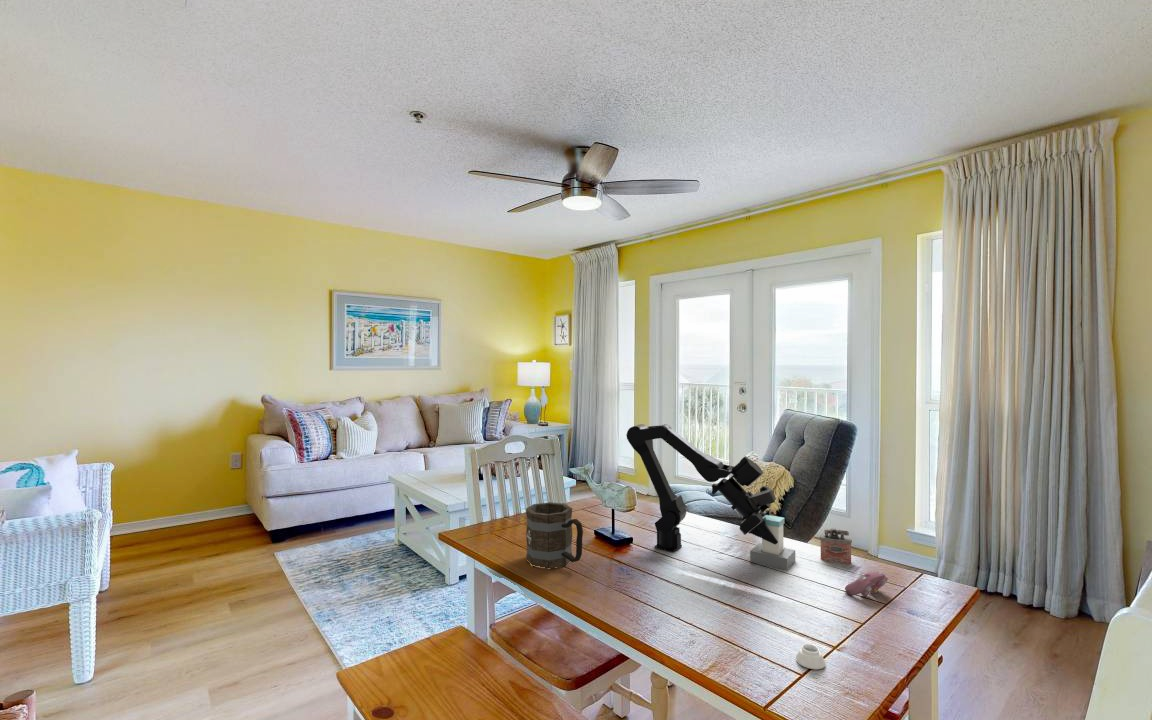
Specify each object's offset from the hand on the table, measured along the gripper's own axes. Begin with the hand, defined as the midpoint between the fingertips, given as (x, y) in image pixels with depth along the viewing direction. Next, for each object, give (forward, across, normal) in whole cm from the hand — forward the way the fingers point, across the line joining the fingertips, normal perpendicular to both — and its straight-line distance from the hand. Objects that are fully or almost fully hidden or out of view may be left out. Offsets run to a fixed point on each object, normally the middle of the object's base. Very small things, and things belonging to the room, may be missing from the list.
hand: (778, 540), depth 146 cm
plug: (+3, 0, +5) cm, 6 cm away
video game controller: (+20, -8, -10) cm, 24 cm away
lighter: (+15, +9, -5) cm, 18 cm away
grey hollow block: (+4, 0, +6) cm, 7 cm away
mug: (-34, -27, +45) cm, 63 cm away
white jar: (+14, -47, -3) cm, 49 cm away
